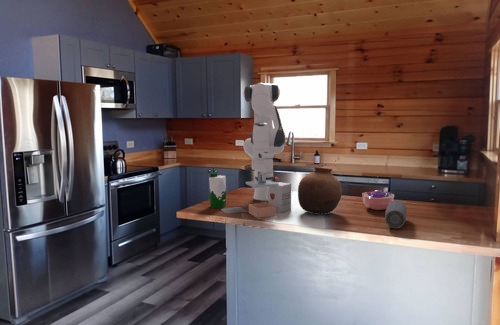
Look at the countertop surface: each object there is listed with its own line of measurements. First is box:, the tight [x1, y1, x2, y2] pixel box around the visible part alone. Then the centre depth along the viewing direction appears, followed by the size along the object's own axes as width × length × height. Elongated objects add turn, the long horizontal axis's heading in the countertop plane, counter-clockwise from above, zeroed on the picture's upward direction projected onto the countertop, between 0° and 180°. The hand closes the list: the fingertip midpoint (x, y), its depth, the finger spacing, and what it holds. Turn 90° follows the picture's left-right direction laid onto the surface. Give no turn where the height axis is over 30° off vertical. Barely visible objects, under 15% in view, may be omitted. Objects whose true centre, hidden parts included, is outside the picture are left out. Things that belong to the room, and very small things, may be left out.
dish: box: [248, 202, 277, 219], centre depth 202 cm, size 11×11×5 cm
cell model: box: [361, 189, 395, 211], centre depth 210 cm, size 17×20×11 cm
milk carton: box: [208, 172, 227, 209], centre depth 220 cm, size 9×9×20 cm
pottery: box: [297, 166, 343, 215], centre depth 202 cm, size 23×23×25 cm
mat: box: [219, 206, 248, 214], centre depth 212 cm, size 12×12×1 cm
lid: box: [245, 175, 279, 189], centre depth 200 cm, size 13×13×5 cm
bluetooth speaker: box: [384, 199, 408, 229], centre depth 180 cm, size 23×9×10 cm, turn 157°
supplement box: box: [268, 181, 292, 214], centre depth 210 cm, size 9×9×15 cm
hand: (261, 180), depth 200 cm, fingers closed on lid, 3 cm apart
